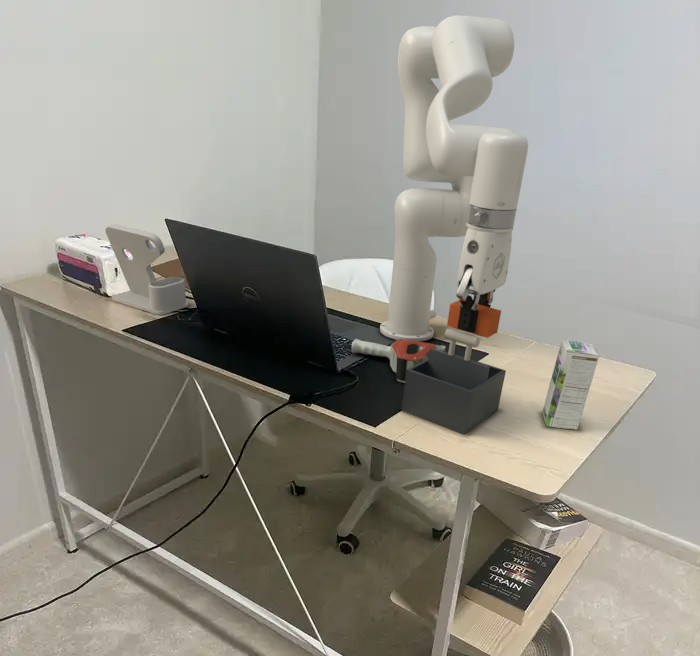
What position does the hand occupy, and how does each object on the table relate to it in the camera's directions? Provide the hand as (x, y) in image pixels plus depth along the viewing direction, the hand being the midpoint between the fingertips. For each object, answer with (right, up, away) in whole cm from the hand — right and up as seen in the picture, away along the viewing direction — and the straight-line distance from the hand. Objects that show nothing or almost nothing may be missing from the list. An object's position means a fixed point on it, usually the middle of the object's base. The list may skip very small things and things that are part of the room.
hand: (472, 326), depth 116 cm
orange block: (0, 0, 0) cm, 0 cm away
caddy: (-3, -14, +6) cm, 16 cm away
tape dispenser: (-11, -4, +22) cm, 25 cm away
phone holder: (-70, +15, +45) cm, 85 cm away
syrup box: (+17, -16, +5) cm, 24 cm away
